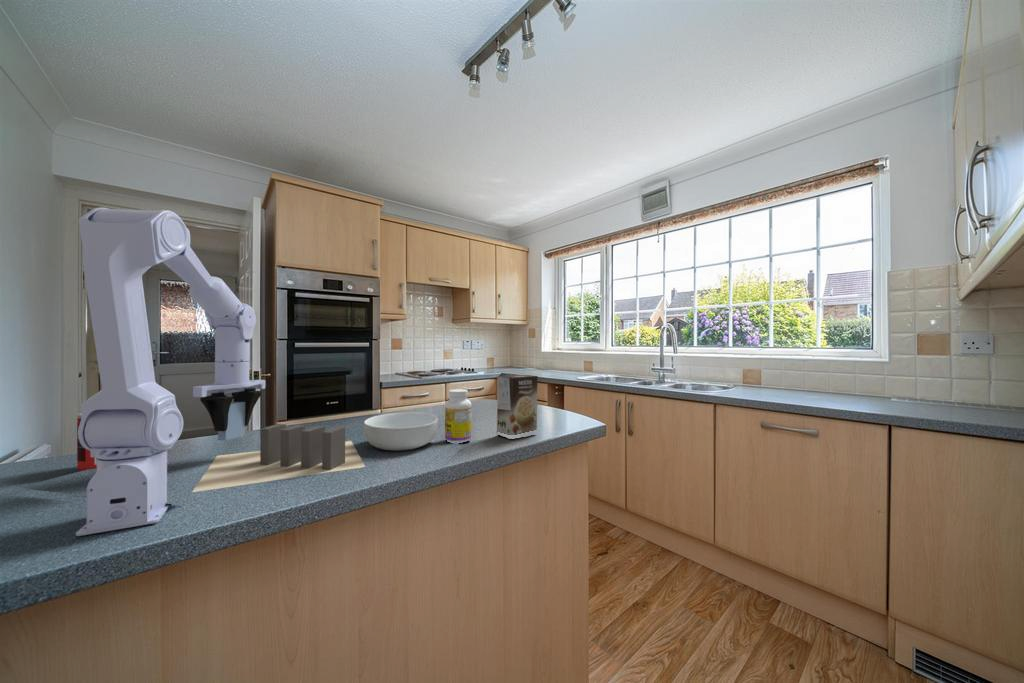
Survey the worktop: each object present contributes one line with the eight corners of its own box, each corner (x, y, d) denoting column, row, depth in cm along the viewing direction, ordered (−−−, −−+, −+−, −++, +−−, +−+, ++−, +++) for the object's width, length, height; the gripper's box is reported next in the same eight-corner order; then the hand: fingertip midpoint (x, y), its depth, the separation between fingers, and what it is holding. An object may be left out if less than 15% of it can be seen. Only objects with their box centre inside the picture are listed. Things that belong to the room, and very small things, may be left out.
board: (365, 472, 73) (365, 466, 73) (191, 498, 61) (191, 492, 61) (351, 444, 93) (351, 440, 93) (216, 460, 80) (216, 455, 80)
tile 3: (305, 459, 78) (305, 425, 78) (288, 466, 73) (288, 430, 73) (297, 459, 78) (297, 424, 78) (280, 466, 74) (280, 429, 74)
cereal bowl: (352, 447, 91) (352, 417, 91) (416, 436, 102) (417, 409, 102) (382, 465, 78) (382, 430, 78) (451, 450, 89) (452, 419, 89)
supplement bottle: (443, 438, 99) (443, 389, 99) (468, 437, 101) (468, 388, 101) (446, 445, 92) (447, 392, 92) (473, 443, 94) (474, 391, 94)
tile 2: (285, 458, 78) (285, 424, 78) (268, 465, 74) (268, 429, 74) (278, 457, 79) (278, 423, 79) (260, 464, 74) (260, 428, 74)
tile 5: (345, 462, 76) (345, 427, 76) (330, 470, 72) (330, 432, 72) (337, 462, 76) (337, 426, 76) (322, 469, 72) (322, 432, 72)
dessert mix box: (511, 440, 97) (511, 377, 97) (496, 435, 102) (496, 375, 102) (537, 435, 103) (538, 375, 103) (522, 430, 108) (522, 374, 108)
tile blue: (245, 435, 80) (245, 401, 80) (225, 440, 76) (225, 405, 76) (237, 435, 81) (238, 401, 81) (218, 440, 76) (218, 404, 76)
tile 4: (324, 461, 77) (325, 426, 77) (309, 468, 72) (309, 431, 72) (316, 460, 77) (317, 425, 77) (301, 467, 73) (301, 430, 73)
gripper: (246, 359, 86) (246, 420, 86) (179, 363, 72) (179, 435, 72) (273, 360, 85) (273, 421, 85) (211, 363, 71) (210, 437, 71)
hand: (232, 428), depth 78 cm, fingers closed on tile blue, 4 cm apart
